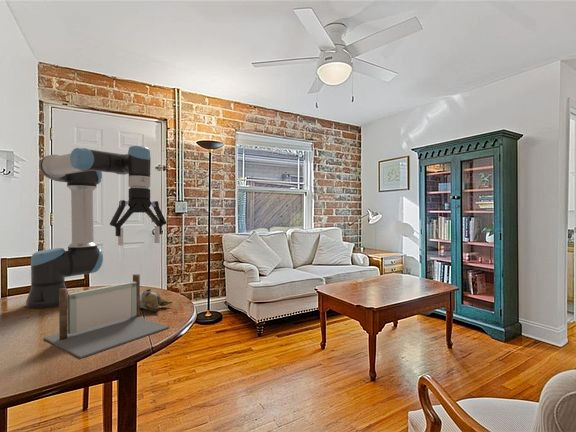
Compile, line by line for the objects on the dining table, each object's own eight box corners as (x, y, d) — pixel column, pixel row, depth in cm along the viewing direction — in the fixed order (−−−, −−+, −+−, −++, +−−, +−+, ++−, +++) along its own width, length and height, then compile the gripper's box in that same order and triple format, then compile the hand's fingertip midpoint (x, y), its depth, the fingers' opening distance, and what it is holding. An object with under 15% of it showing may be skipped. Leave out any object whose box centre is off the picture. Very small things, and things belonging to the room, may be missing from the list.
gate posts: (57, 340, 100) (57, 289, 100) (137, 315, 125) (136, 273, 125) (61, 342, 99) (61, 289, 99) (141, 316, 124) (141, 274, 123)
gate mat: (44, 339, 101) (44, 337, 101) (129, 315, 125) (129, 314, 125) (80, 358, 88) (80, 356, 88) (169, 328, 111) (169, 326, 111)
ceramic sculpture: (142, 284, 139) (173, 288, 136) (141, 304, 140) (172, 308, 137) (125, 290, 129) (158, 294, 126) (124, 311, 129) (157, 316, 126)
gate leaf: (70, 334, 101) (69, 294, 101) (67, 332, 102) (67, 293, 102) (136, 315, 120) (136, 282, 119) (133, 314, 121) (133, 281, 120)
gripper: (107, 185, 111) (107, 247, 111) (175, 189, 129) (175, 242, 130) (99, 186, 116) (99, 245, 116) (166, 190, 134) (166, 241, 135)
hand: (139, 244), depth 123 cm, fingers open, 13 cm apart
